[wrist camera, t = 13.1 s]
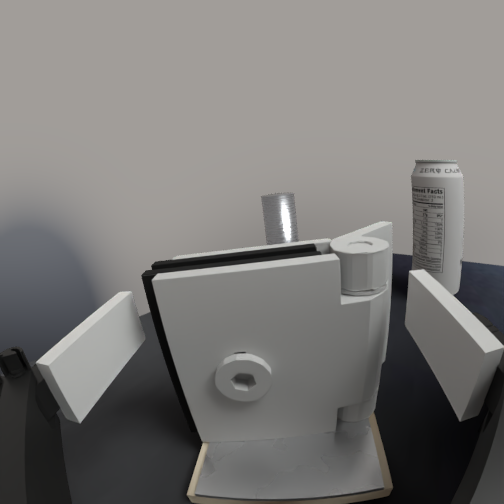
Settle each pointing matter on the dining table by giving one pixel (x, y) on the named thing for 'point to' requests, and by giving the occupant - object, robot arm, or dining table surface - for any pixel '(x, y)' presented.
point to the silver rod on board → (292, 448)
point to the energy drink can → (438, 220)
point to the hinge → (275, 333)
